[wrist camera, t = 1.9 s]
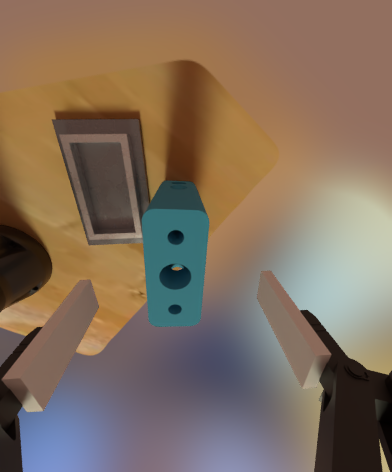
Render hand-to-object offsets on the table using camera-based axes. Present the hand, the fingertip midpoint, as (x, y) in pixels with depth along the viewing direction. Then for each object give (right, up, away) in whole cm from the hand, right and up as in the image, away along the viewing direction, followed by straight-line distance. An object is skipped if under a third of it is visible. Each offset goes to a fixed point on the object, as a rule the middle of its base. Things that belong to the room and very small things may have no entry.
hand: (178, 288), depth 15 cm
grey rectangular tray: (-13, +12, +17) cm, 25 cm away
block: (-2, +9, +20) cm, 22 cm away
